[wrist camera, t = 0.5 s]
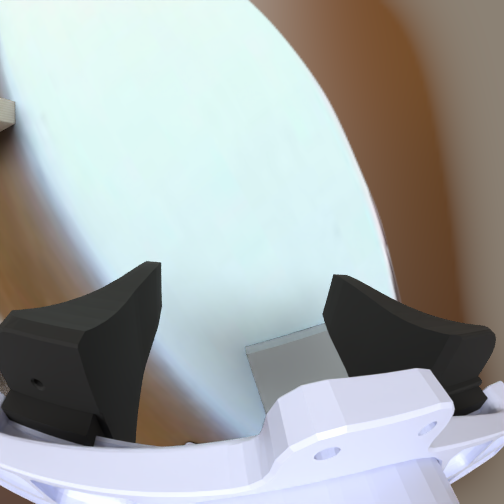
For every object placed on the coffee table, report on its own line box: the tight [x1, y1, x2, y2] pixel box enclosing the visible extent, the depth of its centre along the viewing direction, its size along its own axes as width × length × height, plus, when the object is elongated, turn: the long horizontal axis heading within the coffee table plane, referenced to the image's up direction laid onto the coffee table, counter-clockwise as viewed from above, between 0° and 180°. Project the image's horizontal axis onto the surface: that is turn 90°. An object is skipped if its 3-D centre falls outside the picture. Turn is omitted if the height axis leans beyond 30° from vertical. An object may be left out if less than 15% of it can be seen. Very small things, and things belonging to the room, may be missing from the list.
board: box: [245, 323, 349, 414], centre depth 28 cm, size 28×9×3 cm, turn 14°
